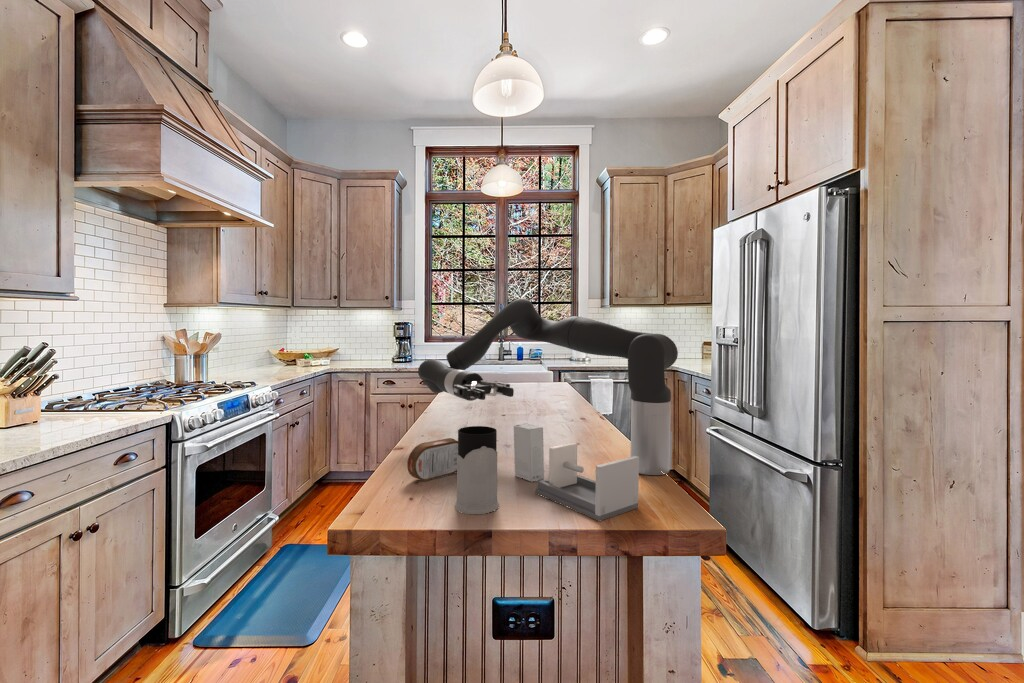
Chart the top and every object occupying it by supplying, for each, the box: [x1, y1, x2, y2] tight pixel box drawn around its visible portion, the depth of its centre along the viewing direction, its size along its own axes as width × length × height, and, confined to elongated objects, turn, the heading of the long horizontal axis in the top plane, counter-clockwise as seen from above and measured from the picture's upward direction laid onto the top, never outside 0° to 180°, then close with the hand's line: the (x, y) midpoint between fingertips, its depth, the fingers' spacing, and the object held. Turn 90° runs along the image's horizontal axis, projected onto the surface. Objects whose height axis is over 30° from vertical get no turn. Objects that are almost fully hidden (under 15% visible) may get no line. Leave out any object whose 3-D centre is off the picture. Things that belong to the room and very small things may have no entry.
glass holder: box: [454, 425, 500, 515], centre depth 99 cm, size 9×14×15 cm, turn 22°
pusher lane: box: [534, 456, 640, 522], centre depth 100 cm, size 11×18×10 cm, turn 37°
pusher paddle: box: [548, 442, 585, 488], centre depth 104 cm, size 7×6×9 cm
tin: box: [406, 437, 458, 482], centre depth 115 cm, size 15×3×8 cm, turn 135°
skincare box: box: [513, 422, 545, 483], centre depth 115 cm, size 6×4×12 cm
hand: (498, 394), depth 122 cm, fingers open, 8 cm apart
